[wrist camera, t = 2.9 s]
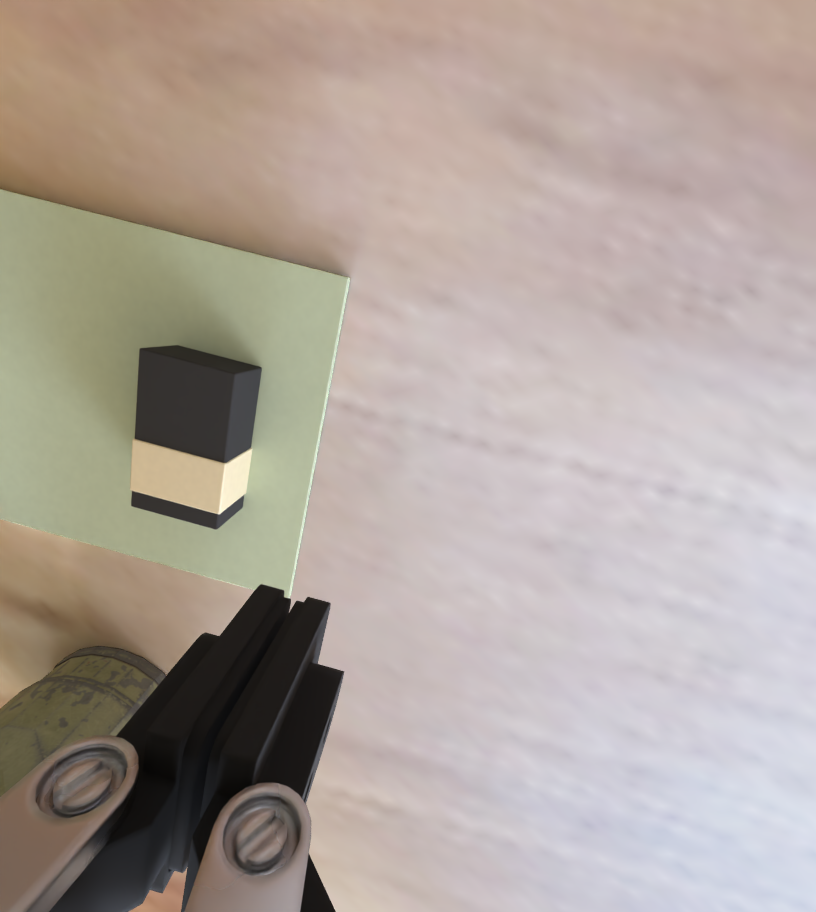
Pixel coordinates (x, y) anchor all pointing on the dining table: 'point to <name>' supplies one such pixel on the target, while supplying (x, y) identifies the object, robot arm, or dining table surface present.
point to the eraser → (192, 434)
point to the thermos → (72, 707)
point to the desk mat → (116, 378)
